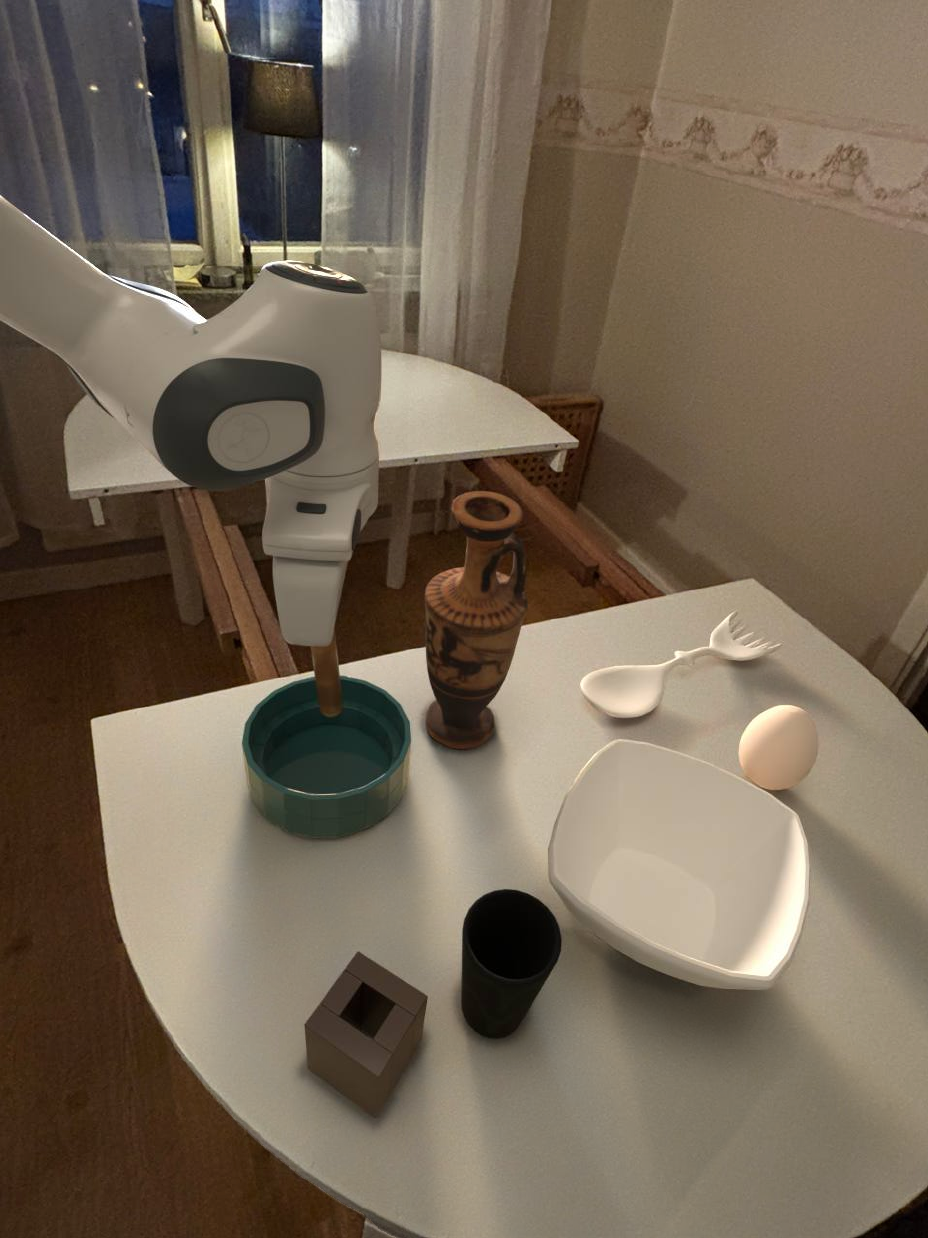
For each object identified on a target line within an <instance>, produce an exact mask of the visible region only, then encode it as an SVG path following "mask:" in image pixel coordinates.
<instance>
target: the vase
mask: <svg viewBox="0 0 928 1238" xmlns="http://www.w3.org/2000/svg"><path fill="white" fill-rule="evenodd" d="M450 510H451V515H452V517H453V519H454V520H453V521H454V522H455V523H456V526H457V528H458V530H459V531H460V532H461V534H462V535H464V536H465V537H466V549H465V559H464V565H463V566H462V567H453V568H451V569H447V570H444V571H442V572H440V573H438V574H436V575H435V576H434V577H432V578H431V580H430V581H428V583H427V585H426V587H425V590H424V604H425V662H426V671H427V675H428V681H429V684H430V687H431V690H432V694H433V695H434V697H435V700H434V701H433V702H432V703H431V704H430V705H429V707H428V709H427V711H426V713H425V717H424V718H425V719H424V722H425V727H426V730H427V732H428V733H429V735H430V736H431V737H432V738H433V740H435V741H437V742H438V743H441V744H443V745H444V746H445V747H448V748H449V749H451V748H452V749H456V750H470V749H475V748H478V747H480V746H482V745H483V744H485V743H486V742H487V741H488V740H489V739H490V738H491V737H492V736H493V734H494V730H495V725H496V724H495V716H494V713H493V711H492V709H491V708H490V707H488V706H489V704H491V702H492V701H493V700H494V699H495V698H496V696H497V694H498V693H499V692H500V690H501V688H502V686H503V684H504V682H505V680H506V678H507V676H508V673H509V671H510V668H511V665H512V663H513V659H514V656H515V653H516V648H517V644H518V641H519V637H520V633H521V630H522V625H523V622H524V619H525V617H526V612H527V610H528V607H529V606H528V604H529V603H528V600H529V599H528V596H527V594H526V590H525V588H526V579H527V557H526V552H525V548H524V544H523V542H522V539H521V537H519V535H517V533H514V531H515V530H516V529H517V528H518V526H519V525H520V524H521V521H522V520H523V518H524V512H523V508H522V507H521V505H520V504H519V503H517V502H516V501H515V500H513V498H511V497H509V496H506V495H504V494H502V493H499V492H494V491H485V490H475V491H468V492H465V493H463V494H459V495H458V496H457V497H456V498H455V499H453V500H452V504H451V507H450ZM509 552H513V557H512V559H513V560H512V569H511V573H510V575H509V576H508V575H507V574H505V573H502V572H500V571H498V569H499V566H500V564H501V562H502V559H503V558H504V557H505V556H506V555H507V554H508V553H509Z"/></svg>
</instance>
